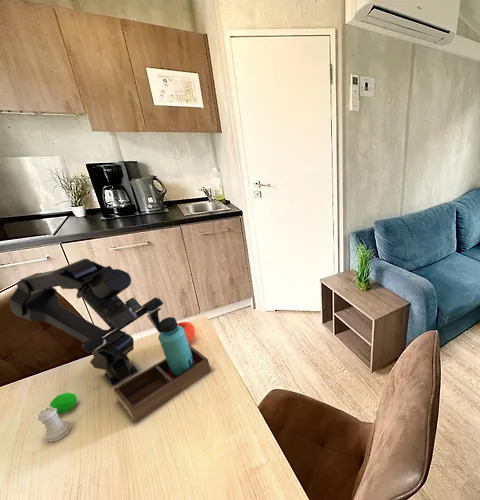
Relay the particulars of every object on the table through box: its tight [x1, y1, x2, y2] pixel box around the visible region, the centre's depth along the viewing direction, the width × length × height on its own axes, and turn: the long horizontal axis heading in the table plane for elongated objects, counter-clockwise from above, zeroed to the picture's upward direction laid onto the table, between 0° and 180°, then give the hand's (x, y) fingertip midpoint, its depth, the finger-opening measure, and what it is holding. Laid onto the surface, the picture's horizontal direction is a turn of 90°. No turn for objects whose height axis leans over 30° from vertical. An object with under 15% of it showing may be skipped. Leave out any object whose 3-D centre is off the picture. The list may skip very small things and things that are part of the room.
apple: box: [177, 321, 196, 345], centre depth 97 cm, size 8×8×8 cm
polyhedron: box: [49, 392, 78, 415], centre depth 74 cm, size 5×5×5 cm
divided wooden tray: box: [113, 344, 212, 424], centre depth 81 cm, size 11×20×5 cm, turn 146°
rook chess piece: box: [37, 406, 72, 443], centre depth 68 cm, size 4×4×8 cm
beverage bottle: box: [157, 316, 194, 376], centre depth 81 cm, size 6×7×20 cm
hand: (146, 347), depth 78 cm, fingers open, 9 cm apart
